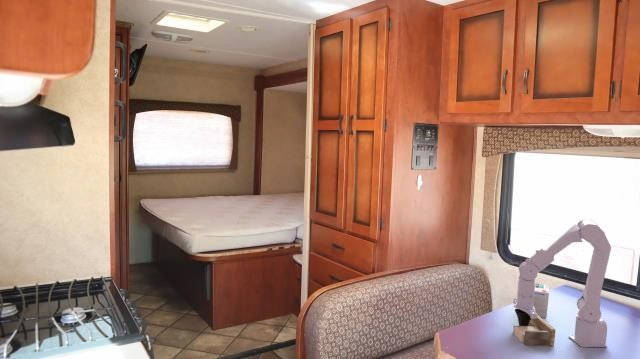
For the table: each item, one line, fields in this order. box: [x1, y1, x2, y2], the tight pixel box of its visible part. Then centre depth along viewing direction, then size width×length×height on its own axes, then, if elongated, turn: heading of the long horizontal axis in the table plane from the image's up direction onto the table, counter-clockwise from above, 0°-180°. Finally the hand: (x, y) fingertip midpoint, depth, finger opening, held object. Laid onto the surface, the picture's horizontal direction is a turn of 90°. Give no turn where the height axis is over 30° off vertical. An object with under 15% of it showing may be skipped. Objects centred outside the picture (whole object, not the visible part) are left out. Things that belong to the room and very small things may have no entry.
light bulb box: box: [533, 282, 550, 319], centre depth 190 cm, size 11×7×11 cm, turn 154°
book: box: [513, 325, 540, 343], centre depth 168 cm, size 8×7×3 cm
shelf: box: [523, 315, 556, 347], centre depth 170 cm, size 10×18×6 cm, turn 2°
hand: (523, 329), depth 172 cm, fingers closed
